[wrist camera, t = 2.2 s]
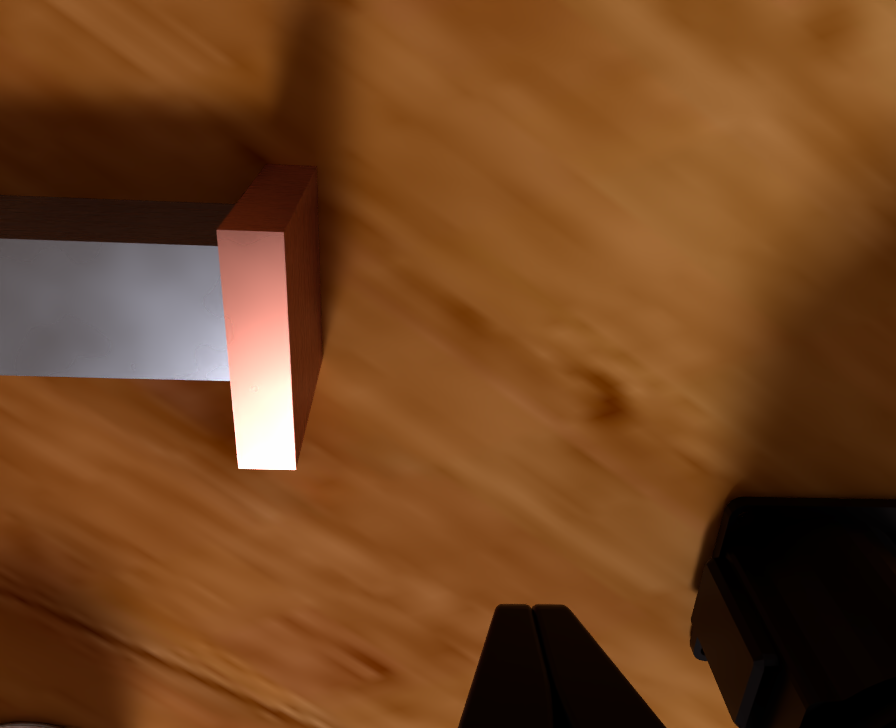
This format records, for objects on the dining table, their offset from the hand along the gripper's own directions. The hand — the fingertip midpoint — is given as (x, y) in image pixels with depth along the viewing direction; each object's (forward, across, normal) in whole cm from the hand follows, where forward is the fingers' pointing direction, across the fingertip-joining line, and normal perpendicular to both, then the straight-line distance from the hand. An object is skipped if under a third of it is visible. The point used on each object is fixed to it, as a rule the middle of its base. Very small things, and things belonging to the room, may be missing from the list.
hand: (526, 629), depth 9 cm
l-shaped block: (+12, +9, 0) cm, 15 cm away
